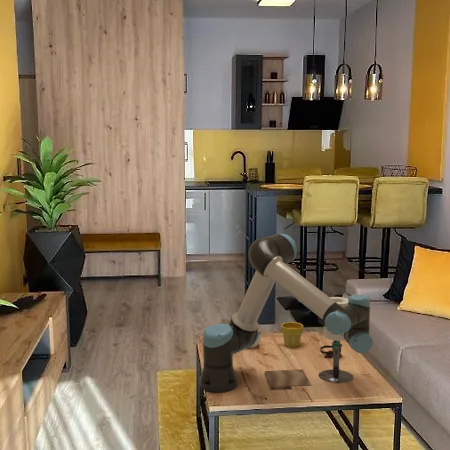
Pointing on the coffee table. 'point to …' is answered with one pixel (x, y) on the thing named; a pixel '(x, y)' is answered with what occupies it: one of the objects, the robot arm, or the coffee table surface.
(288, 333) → the plant pot
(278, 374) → the cutting board
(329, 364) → the coffee table surface
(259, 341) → the lidded jar
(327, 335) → the towel roll
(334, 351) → the disc
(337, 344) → the binoculars
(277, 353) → the coffee table surface
